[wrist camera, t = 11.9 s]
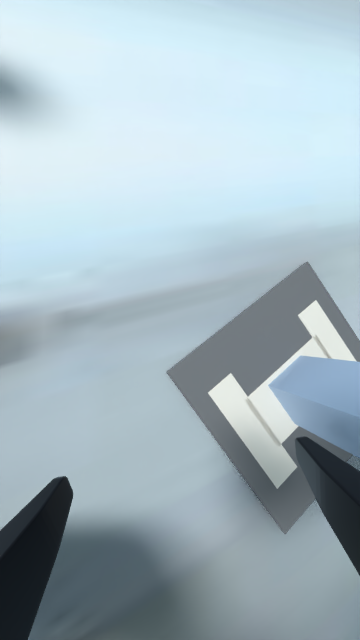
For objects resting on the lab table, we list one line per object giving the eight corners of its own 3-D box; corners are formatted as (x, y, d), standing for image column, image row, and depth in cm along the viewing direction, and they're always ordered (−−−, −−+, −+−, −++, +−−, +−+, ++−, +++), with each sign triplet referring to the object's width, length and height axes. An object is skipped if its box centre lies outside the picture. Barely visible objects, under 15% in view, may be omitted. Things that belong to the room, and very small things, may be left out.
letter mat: (394, 399, 26) (399, 400, 26) (282, 530, 22) (285, 535, 21) (305, 262, 25) (308, 261, 24) (166, 371, 20) (167, 372, 20)
